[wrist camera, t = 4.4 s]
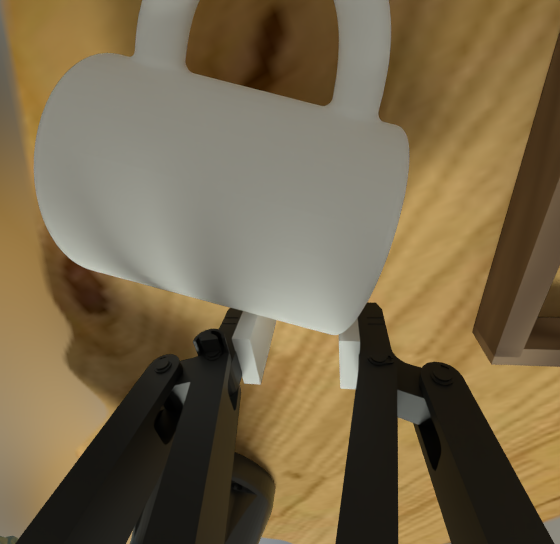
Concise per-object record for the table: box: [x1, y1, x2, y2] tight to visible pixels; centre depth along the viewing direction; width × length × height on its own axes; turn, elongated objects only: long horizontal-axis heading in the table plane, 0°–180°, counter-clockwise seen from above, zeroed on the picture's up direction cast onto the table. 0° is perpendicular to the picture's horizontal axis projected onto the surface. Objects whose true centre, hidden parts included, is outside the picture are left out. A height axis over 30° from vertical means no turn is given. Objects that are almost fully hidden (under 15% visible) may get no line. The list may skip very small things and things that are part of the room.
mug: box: [34, 0, 409, 335], centre depth 10 cm, size 12×10×8 cm
